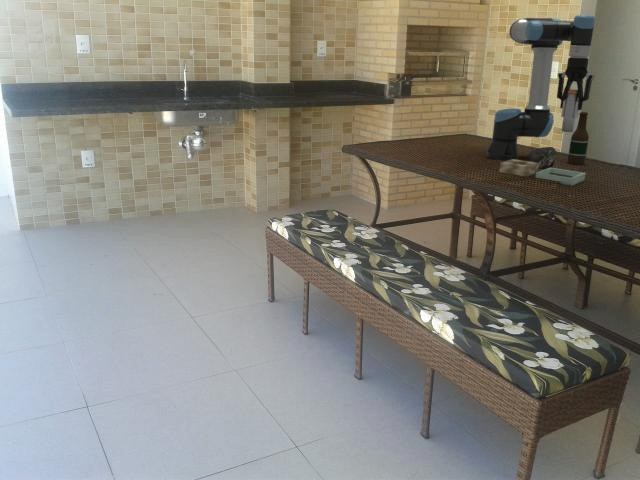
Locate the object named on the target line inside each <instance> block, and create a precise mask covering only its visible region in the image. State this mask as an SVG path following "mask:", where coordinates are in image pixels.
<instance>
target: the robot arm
mask: <svg viewBox="0 0 640 480" xmlns="http://www.w3.org/2000/svg"><path fill="white" fill-rule="evenodd" d="M595 21H596V18H595V16H594V15H589V14H588V15H584V14H583V15H580V14H579V15H575V16H574V18H573V21H571V20H569V21H568V20H567V21H566V20H563V21H562V20H560V18H552V17H548V18H547V17H545V18H544V17H542V18H541V17H539V18H538V17H525V18H520V19H518V20H515V21H514V22H513V23H512V24H511V25H510V27H509V36H510V38H511V39H512V41H514V42H515V43H518V44H520V45H521V44H522V45H530V49H531V51H532V52H533V59H532V69H531V79H530V87H529V95H528V103H527V105H526V106H525V107H524V111H522V110H521V109H520V108H505V109H500V110H499V109H498V110H497V111H496V112H495V115H494V120H493V128H492V129H493V130H492V139H491V143H490V145H489V147H488V150H487V151H486V157H487V158H488V159H492V160H493V159H494V160H498V161H499V160H500V161H508V160H511V159H515V160H520V159H519V157H520V151H519V147H518V138H519V137H520V138H523V137H524V138H545V137H547V136H548V135H549V134H550V133H551V130H552V129H553V128H552V127H553V125H554V113H552V112H551V108H550V107H549V106H548V102H549V101H548V100H549V93H550V85H551V76H552V69H553V60H554V59H553V58H554V53H555V52H556V51H557V50H558V48H559V46H561V45H562V44H563V42H570V44H569V51H568V59H567V65H566V70H565V71H564V72H560V73H557V75H558V76H557V77H558V83H557V84H558V86H557V94H556V99H560V105H559V106H560V107H559V108H560V109H561V116H560V117H561V118H564V111H565V104H566V97H567V91H568V90H569V89H571V87H572V84H573V83H574V82H575V83H576V85H577V90H578V102H576V107H575V113H574V118H575V120H576V119H579V116H580V115H579V114H580V111H582V108H583V103H584V102H585V101H588V100H589V99H590V98H589V97H590V93H591V86H592V82H593V80H594V78H595V75H594V74H592V73H591V74H590V73H589V72H588V66H589V61H590V59H589V57H590V53H591V46H592V41H593V36H594V34H593V33H594V29H595ZM565 77H566V78H567V80H566V85H565ZM584 79H586V82H585V86H584V85H583V84H584ZM564 85H565V88H564ZM584 87H585V88H584Z"/></svg>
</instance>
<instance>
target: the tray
mask: <svg viewBox="0 0 640 480" xmlns="http://www.w3.org/2000/svg"><path fill="white" fill-rule="evenodd" d="M586 174H587V173H586V172H581V171H576V170H568V169H563V168H555V167H553V168H548V169H543V170H540V171H539V170H538V172H537V173H535V178H536V179H543V180H549V181H554V182H557V183H556V184H560V185H565V186H569V187H572V186H574V185H576V184H579V183H581V182H584V181H585V180H586V179H585V178H586ZM568 176H569V177H568Z"/></svg>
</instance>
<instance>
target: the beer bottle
mask: <svg viewBox="0 0 640 480" xmlns="http://www.w3.org/2000/svg"><path fill="white" fill-rule="evenodd" d="M588 115H589V112H588V111H587V112H586V111H579V115H578V122H577V127H576V130H574V131H573V132H572V134H571V138H570V142H569V143H570V144H569V150H568V155H567V164H570V165H573V166H583V165H585V163H586V158H587V151H588V147H589V145H588V144H589V133H588V131H587V122H588Z"/></svg>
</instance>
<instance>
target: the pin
mask: <svg viewBox="0 0 640 480" xmlns="http://www.w3.org/2000/svg"><path fill="white" fill-rule="evenodd" d="M576 102H578V89H571V88H570V89H569V90H568V91H567V97H566V104H565V111H564V117H562V118H563V120H562V127H561V132H563V133H574V127H575V122H576V119H575V118H574V113H575V107H576Z"/></svg>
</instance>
